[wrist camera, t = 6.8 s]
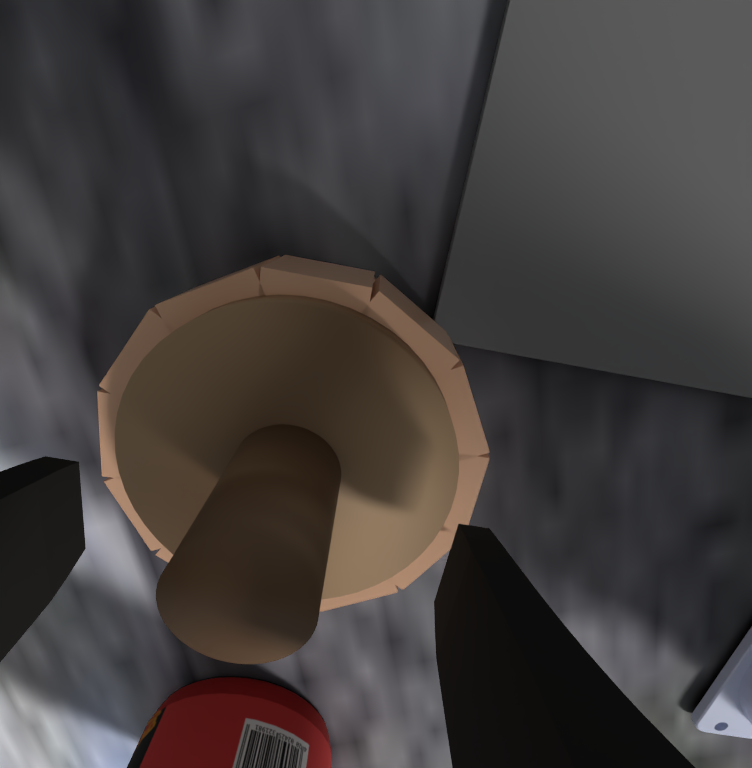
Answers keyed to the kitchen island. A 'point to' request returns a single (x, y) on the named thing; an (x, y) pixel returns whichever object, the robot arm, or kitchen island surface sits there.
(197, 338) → the lid
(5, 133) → the kitchen island surface
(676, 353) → the mat
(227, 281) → the tan round bowl
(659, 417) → the kitchen island surface
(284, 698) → the canned food
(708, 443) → the kitchen island surface
